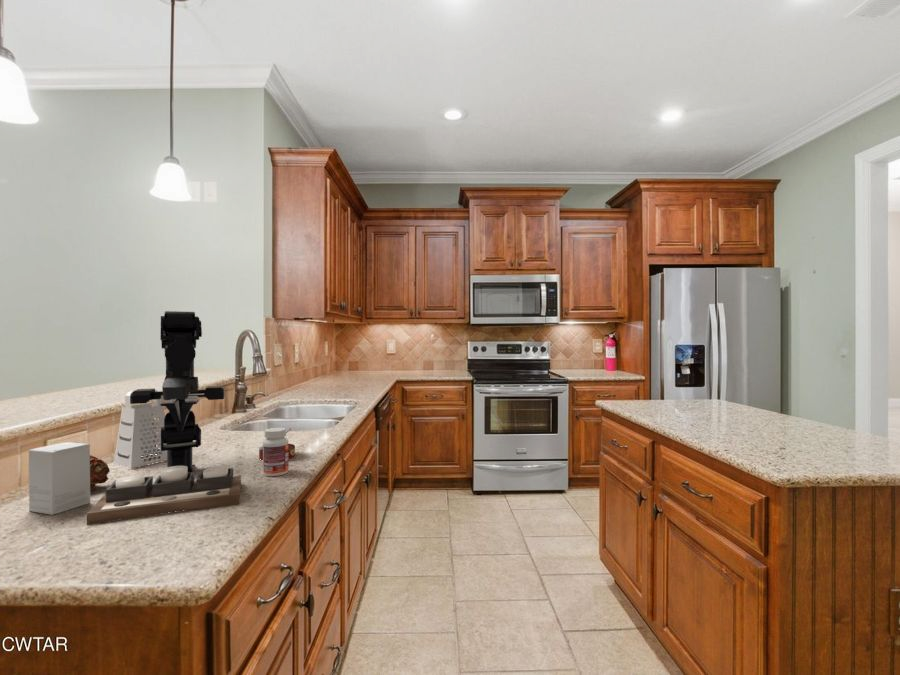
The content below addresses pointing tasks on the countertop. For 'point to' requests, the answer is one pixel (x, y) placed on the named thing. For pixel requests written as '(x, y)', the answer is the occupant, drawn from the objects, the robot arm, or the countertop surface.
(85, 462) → the supplement box
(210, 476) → the button
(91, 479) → the dragon fruit
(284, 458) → the pill bottle
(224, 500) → the button board
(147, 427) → the grater
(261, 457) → the canned food
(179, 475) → the button middle
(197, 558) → the countertop surface
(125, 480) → the button
